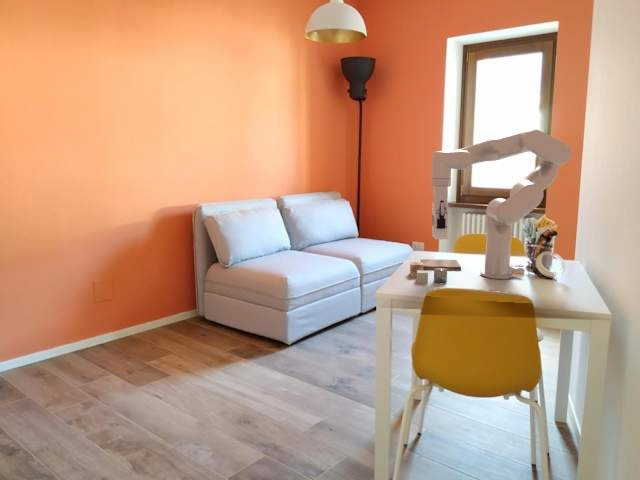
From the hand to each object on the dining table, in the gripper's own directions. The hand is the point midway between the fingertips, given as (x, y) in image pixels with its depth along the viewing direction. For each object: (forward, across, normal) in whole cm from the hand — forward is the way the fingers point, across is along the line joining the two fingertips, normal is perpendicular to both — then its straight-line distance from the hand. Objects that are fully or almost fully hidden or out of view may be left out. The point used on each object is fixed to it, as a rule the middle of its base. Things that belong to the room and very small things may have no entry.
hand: (440, 226), depth 210 cm
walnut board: (+20, -17, +2) cm, 26 cm away
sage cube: (+20, +10, -8) cm, 24 cm away
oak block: (+20, 0, -9) cm, 22 cm away
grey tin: (+20, +10, -1) cm, 23 cm away
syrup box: (+5, 0, 0) cm, 5 cm away
